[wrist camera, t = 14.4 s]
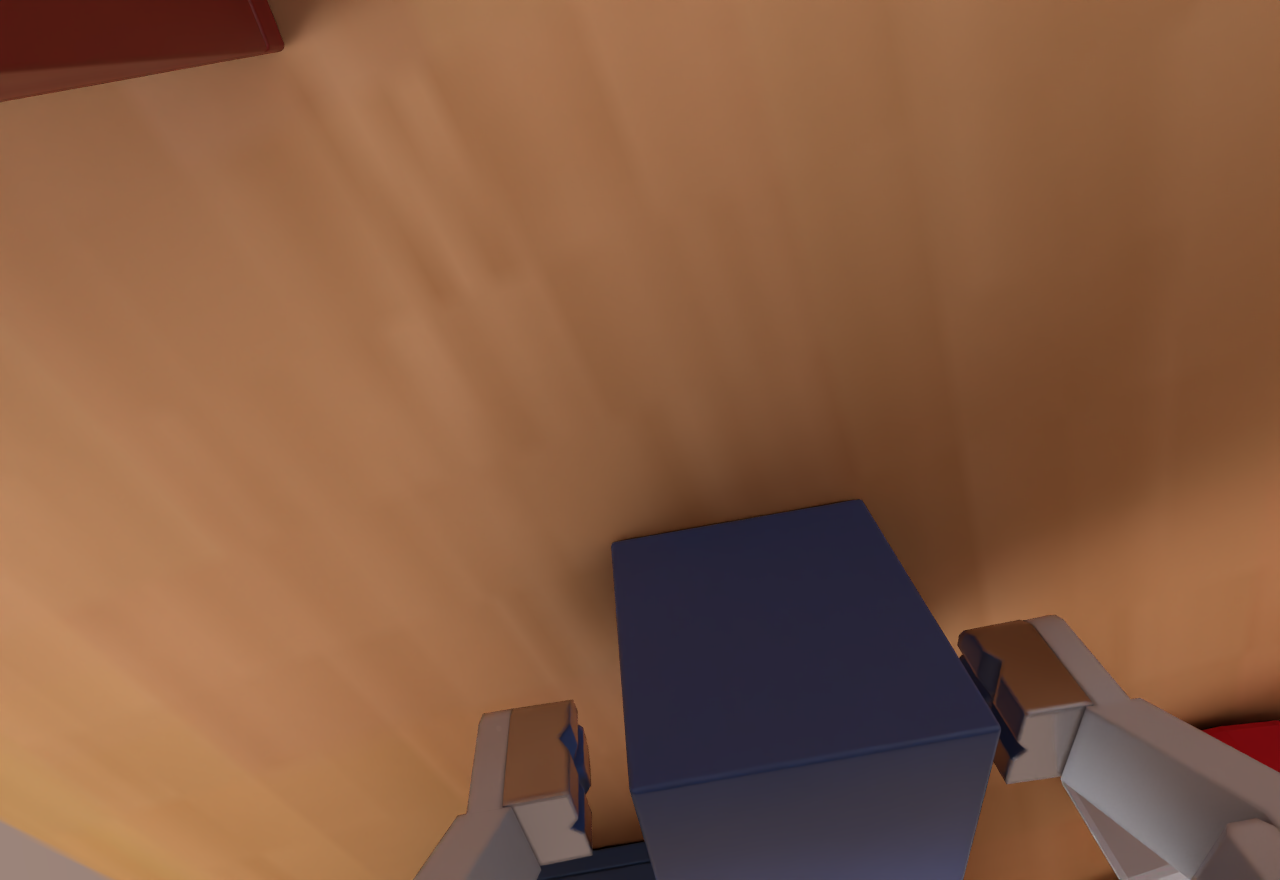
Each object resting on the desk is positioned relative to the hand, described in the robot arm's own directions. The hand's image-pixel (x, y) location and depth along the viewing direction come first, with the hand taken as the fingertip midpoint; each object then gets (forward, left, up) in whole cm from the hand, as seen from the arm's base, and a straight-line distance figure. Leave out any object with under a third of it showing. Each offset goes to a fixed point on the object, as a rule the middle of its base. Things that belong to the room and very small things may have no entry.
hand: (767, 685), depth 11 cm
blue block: (0, 0, -2) cm, 2 cm away
